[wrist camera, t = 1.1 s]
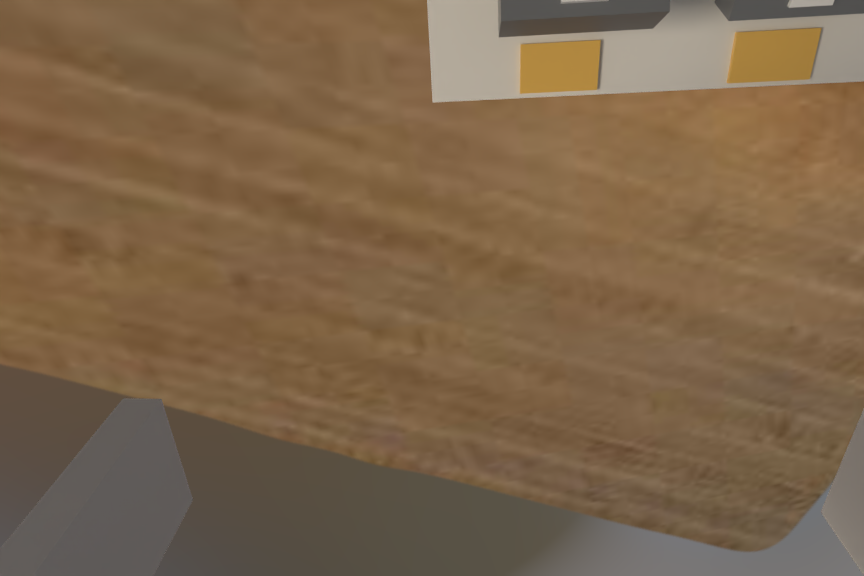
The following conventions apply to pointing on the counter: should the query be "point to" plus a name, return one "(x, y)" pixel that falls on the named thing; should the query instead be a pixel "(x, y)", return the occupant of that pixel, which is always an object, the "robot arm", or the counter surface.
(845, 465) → the robot arm
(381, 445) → the counter surface
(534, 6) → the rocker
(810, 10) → the block
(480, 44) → the switch unit
